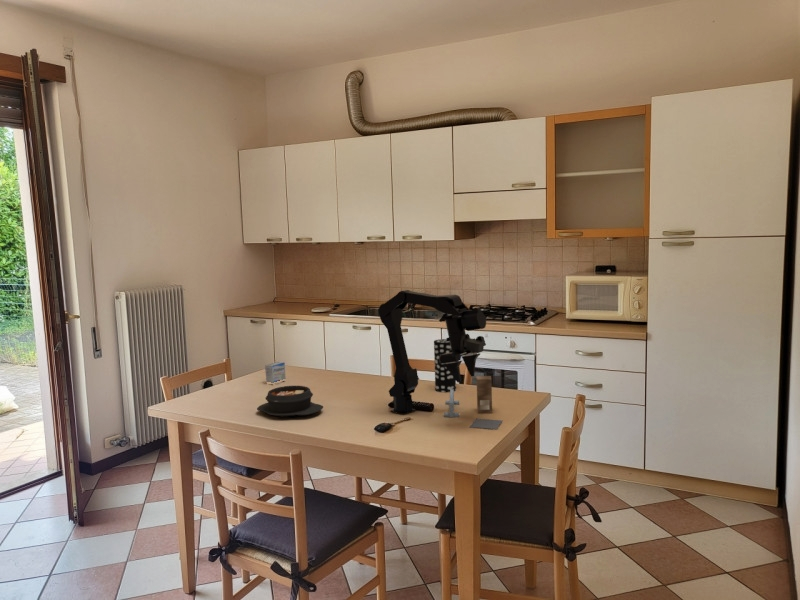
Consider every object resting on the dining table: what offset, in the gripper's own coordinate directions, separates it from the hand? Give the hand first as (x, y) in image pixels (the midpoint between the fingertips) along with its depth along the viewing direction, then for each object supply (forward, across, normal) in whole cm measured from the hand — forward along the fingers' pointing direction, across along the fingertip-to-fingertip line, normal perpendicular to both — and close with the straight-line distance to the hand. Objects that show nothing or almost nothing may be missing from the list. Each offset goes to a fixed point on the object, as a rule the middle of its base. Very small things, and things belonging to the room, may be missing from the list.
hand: (466, 379), depth 198 cm
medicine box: (-5, +9, +102) cm, 102 cm away
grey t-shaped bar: (+12, +10, +14) cm, 21 cm away
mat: (+16, +1, -4) cm, 16 cm away
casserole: (+2, -21, +63) cm, 67 cm away
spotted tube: (+9, +33, +30) cm, 46 cm away
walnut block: (+14, +14, +4) cm, 20 cm away
